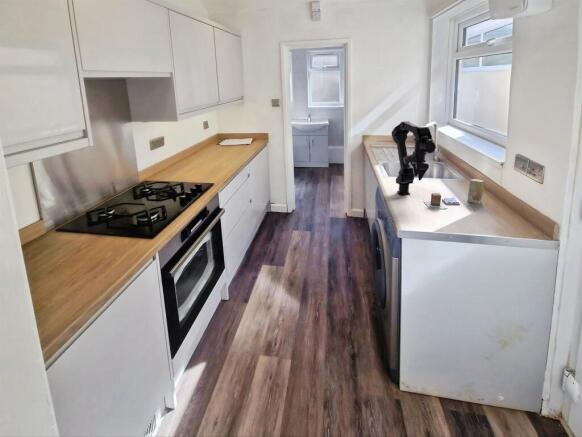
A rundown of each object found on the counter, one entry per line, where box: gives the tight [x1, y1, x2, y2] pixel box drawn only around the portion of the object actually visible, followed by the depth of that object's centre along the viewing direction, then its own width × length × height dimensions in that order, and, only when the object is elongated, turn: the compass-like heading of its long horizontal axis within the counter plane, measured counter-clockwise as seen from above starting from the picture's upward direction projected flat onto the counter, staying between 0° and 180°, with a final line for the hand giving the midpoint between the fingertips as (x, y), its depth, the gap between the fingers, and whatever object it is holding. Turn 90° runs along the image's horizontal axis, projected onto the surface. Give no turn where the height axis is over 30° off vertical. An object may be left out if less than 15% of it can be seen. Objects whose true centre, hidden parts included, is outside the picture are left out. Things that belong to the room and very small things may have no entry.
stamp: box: [430, 192, 442, 206], centre depth 222 cm, size 4×4×6 cm
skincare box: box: [467, 178, 485, 204], centre depth 226 cm, size 6×4×12 cm
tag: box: [423, 201, 448, 210], centre depth 223 cm, size 12×9×1 cm
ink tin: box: [441, 197, 461, 206], centre depth 228 cm, size 9×7×1 cm
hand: (417, 178), depth 229 cm, fingers open, 9 cm apart
